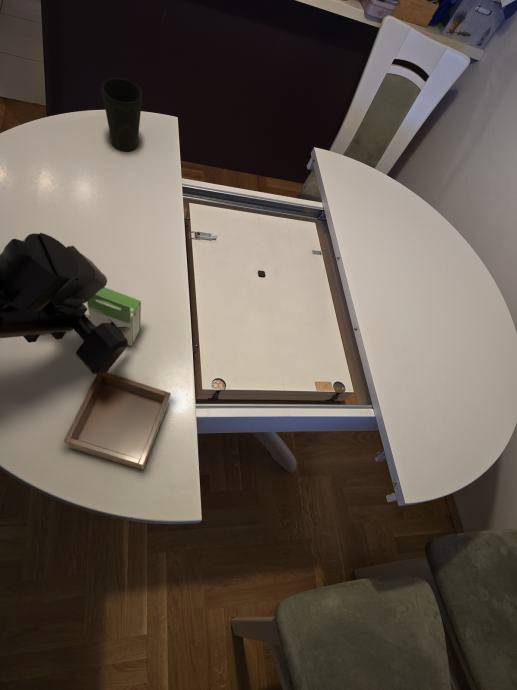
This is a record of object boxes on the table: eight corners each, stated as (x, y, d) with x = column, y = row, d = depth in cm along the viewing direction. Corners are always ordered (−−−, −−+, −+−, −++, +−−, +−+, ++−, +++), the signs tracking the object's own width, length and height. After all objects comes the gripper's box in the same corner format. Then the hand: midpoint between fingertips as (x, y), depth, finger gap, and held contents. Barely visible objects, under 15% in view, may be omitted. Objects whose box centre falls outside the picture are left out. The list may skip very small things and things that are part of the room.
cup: (104, 130, 87) (98, 75, 77) (139, 131, 90) (138, 78, 79) (109, 155, 84) (104, 102, 74) (145, 155, 87) (145, 104, 77)
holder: (69, 447, 58) (63, 441, 54) (102, 380, 64) (99, 369, 60) (143, 470, 60) (143, 465, 55) (168, 402, 65) (170, 393, 61)
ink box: (141, 328, 69) (141, 287, 58) (132, 347, 67) (130, 308, 56) (103, 314, 69) (95, 269, 57) (93, 332, 67) (82, 290, 55)
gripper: (109, 318, 42) (180, 314, 56) (5, 203, 44) (99, 228, 59) (56, 387, 45) (137, 366, 60) (-38, 276, 47) (61, 282, 62)
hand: (109, 309), depth 60 cm, fingers open, 9 cm apart
